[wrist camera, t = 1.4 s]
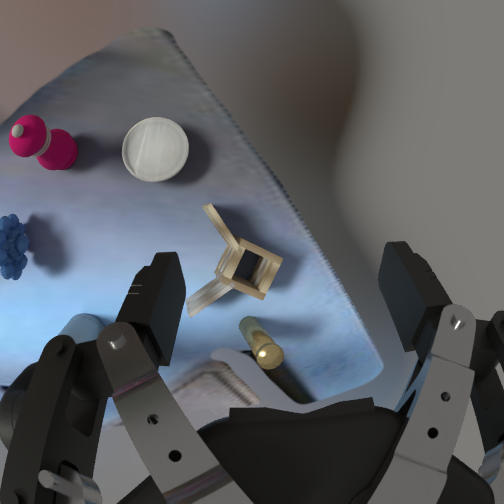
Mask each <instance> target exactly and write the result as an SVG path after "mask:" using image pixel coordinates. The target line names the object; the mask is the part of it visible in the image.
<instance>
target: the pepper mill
mask: <svg viewBox="0 0 504 504" xmlns="http://www.w3.org/2000/svg"><path fill="white" fill-rule="evenodd" d="M9 144H10V147H11V149H12V151H13V152H14V153H15V154H16V155H18V156H21V157H29V156H31V157H37V159H38V161H39V163H40V164H41V165H42V166H43V167H44V168H46V169H48V170H64V169H67V168H69V167H70V166H71V165H72V164H73V163H74V162H75V160H76V158H77V154H78V147H77V144H76V142H75V141H74V140H73V139H72V137H71V135H70V134H69V133H68V132H66V131H64V130H61V129H52V130H49V128H48V127H47V126H45V123H44V121H43V120H42V119H41V118H39V117H38V116H35V115H26V116H23V117H22V118H20V119H19V120H18V121H17V122H16V123H15V124H14V125H13V127H12V129H11V131H10V135H9Z"/></svg>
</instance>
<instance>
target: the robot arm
mask: <svg viewBox="0 0 504 504" xmlns="http://www.w3.org/2000/svg"><path fill="white" fill-rule="evenodd" d="M378 282H379V287H380V290H381V292H382V295H383V297H384V299H385V302H386V304H387V307H388V309H389V311H390V314H391V317H392V319H393V321H394V324H395V327H396V329H397V332H398V334H399V337H400V340H401V342H402V345H403V348H404V350H405V352H409V351H414V350H416V353H417V355H418V358H417V360H416V362H415V365H414V367H413V370H412V373H411V375H410V377H409V380H408V382H407V385H406V387H405V390H404V392H403V394H402V396H401V398H400V400H399V402H398V404H397V406H396V407H395V409H394V411H393V410H390V409H387V408H383V407H378V406H374V402H373V398H372V397H370V398H363V399H358V400H350V401H342V402H338V403H335V404H332V405H329V406H326V407H324V408H321V409H318V410H315V411H312V412H309V413H304V414H300V413H294V412H288V411H282V410H277V409H271V408H266V407H265V408H230V412H229V417H225V418H222V419H218V420H215V421H213V422H211V423H209V424H207V425H205V426H203V427H202V428H200V429H199V430H197V431H195V429H194V428H193V426H192V425H191V424H190V422H189V420H188V419H187V417H186V416H185V414H184V413H183V411H182V410H181V408H180V407H179V405H178V404H177V402H176V401H175V399H174V397H173V396H172V394H171V393H170V391H169V389H168V388H167V386H166V384H165V383H164V381H163V379H162V378H161V376H160V374H159V373H158V368H159V366H169V365H170V361H171V356H172V352H173V347H174V343H175V339H176V334H177V330H178V326H179V322H180V318H181V314H182V309H183V305H184V301H185V297H186V285H185V281H184V277H183V273H182V269H181V265H180V261H179V257H178V254H177V253H176V252H159V253H156V254H155V256H154V259H153V261H152V263H151V265H150V266H144V267H143V268H142V269H141V270H140V271H139V272H138V273H137V274H136V276H135V278H134V280H133V282H132V284H131V285H132V286H130V289H129V291H128V295H126V298H125V300H124V302H123V304H122V307H121V309H120V311H119V314H118V316H117V318H116V321H115V323H112V324H110V325H108V326H106V327H105V326H104V324H103V323H102V322H101V321H100V320H99V319H97V318H96V317H94V316H92V315H89V314H79V315H76V316H74V317H73V318H72V319H71V320H70V321H69V322H68V323H67V325H66V326H65V327H64V328H63V329H62V331H61V332H60V333H59V334H58V336H56V337H54V338H52V339H51V340H50V341H49V342H48V343H47V344H46V346H45V347H44V349H43V352H42V354H41V356H40V359H39V361H38V362H35V363H33V364H31V365H29V366H28V367H26V368H25V369H24V370H23V372H22V373H21V374H20V375H19V376H18V377H17V378H16V380H15V381H14V382H13V383H12V384H11V385H10V387H9V388H8V389H7V390H6V392H5V393H4V395H3V397H2V399H1V401H0V438H1V440H2V442H3V444H4V445H5V447H6V448H7V449H8V455H7V459H6V463H5V468H4V473H3V478H2V483H1V489H0V503H1V504H102V496H101V493H100V490H99V487H98V485H97V484H96V483H95V482H94V481H93V480H92V478H93V471H94V465H95V459H96V453H97V448H98V442H99V437H100V432H101V427H102V422H103V417H104V413H105V408H106V404H107V400H108V397H112V398H113V401H114V404H115V406H116V408H117V410H118V413H119V415H120V417H121V419H122V421H123V423H124V426H125V428H126V430H127V432H128V434H129V436H130V438H131V440H132V442H133V444H134V445H135V448H136V449H137V451H138V453H139V455H140V457H141V459H142V461H143V462H144V464H145V466H146V468H147V469H148V471H149V473H150V475H149V476H148V477H147V478H146V479H145V480H144V481H143V482H141V483H140V484H139V485H138V486H137V487H136V488H135V489H133V490H132V491H131V492H130V493H129V494H128V495H126V496H125V497H124V498H123V499H122V500H120V501H119V502H118V503H117V504H504V390H503V387H502V384H501V381H500V379H499V376H498V374H497V371H496V369H495V367H496V366H497V365H498V363H499V362H500V364H501V366H502V369H503V372H504V311H498V312H496V313H495V314H494V316H493V318H492V319H491V321H485V320H478V319H475V318H474V316H473V314H472V313H471V312H470V311H469V310H468V309H466V308H465V307H463V306H461V305H456V304H453V303H452V301H451V300H450V298H449V296H448V295H447V293H446V291H445V290H444V288H443V287H442V285H441V283H440V282H439V280H438V279H437V277H436V275H435V273H434V272H432V269H431V267H430V266H429V264H428V263H427V261H426V260H425V259H423V258H422V257H421V256H420V255H418V254H417V253H413V251H412V250H411V248H410V247H409V245H408V244H407V243H406V242H405V241H399V242H398V241H397V242H387V243H386V245H385V248H384V253H383V257H382V261H381V266H380V270H379V275H378ZM469 398H471V401H472V404H473V408H474V411H475V415H476V418H477V422H478V426H479V430H480V434H481V438H482V442H483V446H484V451H485V456H484V459H483V462H482V465H481V466H480V468H479V470H478V474H477V473H476V472H475V471H473V470H472V469H471V468H469V467H468V466H467V465H466V464H464V463H463V462H462V461H460V460H459V459H458V458H456V457H455V456H454V455H453V454H452V453H453V451H454V448H455V445H456V442H457V439H458V436H459V433H460V430H461V427H462V423H463V420H464V416H465V413H466V409H467V405H468V402H469Z"/></svg>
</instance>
